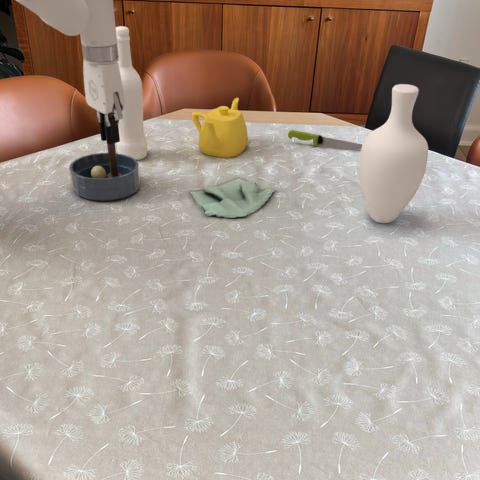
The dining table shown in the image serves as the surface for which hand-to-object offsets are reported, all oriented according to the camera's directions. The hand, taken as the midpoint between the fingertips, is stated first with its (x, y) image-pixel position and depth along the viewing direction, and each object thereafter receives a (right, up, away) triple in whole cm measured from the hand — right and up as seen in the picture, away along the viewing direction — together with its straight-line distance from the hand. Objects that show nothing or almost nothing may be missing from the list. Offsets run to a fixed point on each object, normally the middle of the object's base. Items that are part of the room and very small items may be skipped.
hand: (110, 140), depth 152 cm
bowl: (-2, -8, +7) cm, 11 cm away
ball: (-4, -5, +8) cm, 10 cm away
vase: (+63, -20, -2) cm, 66 cm away
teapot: (+24, +10, +28) cm, 38 cm away
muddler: (0, -7, +7) cm, 10 cm away
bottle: (+2, +6, +23) cm, 23 cm away
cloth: (+29, -12, +5) cm, 32 cm away
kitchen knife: (+54, +11, +30) cm, 63 cm away
